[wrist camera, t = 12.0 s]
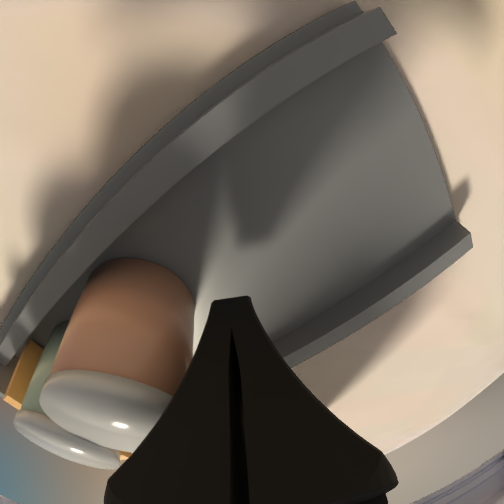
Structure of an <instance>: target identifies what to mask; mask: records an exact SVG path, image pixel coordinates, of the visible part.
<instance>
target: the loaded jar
mask: <svg viewBox="0 0 504 504" xmlns="http://www.w3.org/2000/svg"><path fill="white" fill-rule="evenodd" d="M68 324H69V322H63V323H60V324H58V325H56V326H55V327H54V328H53V330H52V332H51V334H50V337H49V339H48V341H47V343H46V345H45V348H44V350H43V352H42V354H41V357H40V359H39V361H38V364H37V366H36V369H35V371H34V374H33V376H32V379H31V381H30V384H29V386H28V389H27V392H26V394H25V397H24V400H23V403H22V406H21V409H20V410H19V411H17V414H16V417H15V420H14V426H15V428H16V429H17V430H18V431H19V432H20V433H21V434H22V435H24V436H25V437H26V438H28V439H29V440H31V441H32V442H33V443H35V444H37V445H39V446H40V447H42V448H44V449H46V450H48V451H50V452H52V453H54V454H56V455H58V456H60V457H63V458H65V459H68V460H71V461H74V462H77V463H80V464H83V465H87V466H91V467H95V468H101V469H117V468H119V463H120V457H121V454H120V452H119V450H115V449H111V448H107V447H104V446H101V445H98V444H95V443H92V442H89V441H87V440H84V439H82V438H80V437H78V436H76V435H74V434H72V433H70V432H68V431H67V430H65V429H64V428H62V427H61V426H59V425H58V424H56V423H55V422H54V421H53V420H51V419H50V418H49V417H48V416H47V414H46V413H45V412H44V411H43V409H42V408H41V405H40V403H39V398H40V395H41V391H42V388H43V385H44V382H45V379H46V378H47V377H48V376H49V375H50V373H51V370H52V367H53V364H54V361H55V358H56V355H57V352H58V350H59V347H60V344H61V341H62V339H63V336H64V334H65V331H66V329H67V326H68Z"/></svg>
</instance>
